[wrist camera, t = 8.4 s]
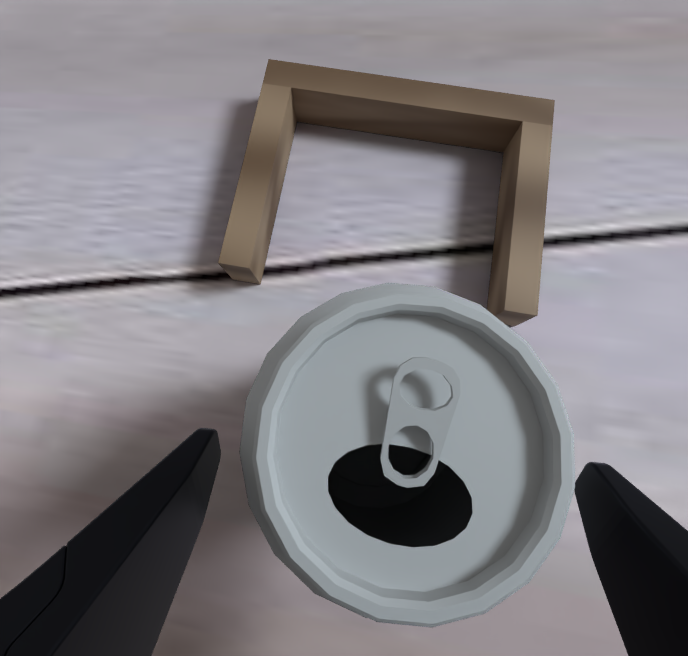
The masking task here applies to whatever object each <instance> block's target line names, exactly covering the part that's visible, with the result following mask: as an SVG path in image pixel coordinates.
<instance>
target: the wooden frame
mask: <svg viewBox="0 0 688 656" xmlns="http://www.w3.org/2000/svg"><path fill="white" fill-rule="evenodd" d="M554 102H555V100H549V99H543V98H536V97H529V96H522V95H515V94H508V93H501V92H494V91H487V90H480V89H473V88H466V87H459V86H452V85H445V84H438V83H431V82H424V81H417V80H410V79H403V78H396V77H389V76H382V75H375V74H368V73H361V72H354V71H347V70H340V69H333V68H326V67H319V66H312V65H305V64H298V63H292V62H285V61H278V60H271V59H269V60H268V64H267V68H266V72H265V76H264V80H263V84H262V88H261V92H260V96H259V100H258V104H257V108H256V112H255V117H254V121H253V125H252V129H251V133H250V137H249V141H248V145H247V149H246V153H245V157H244V161H243V165H242V169H241V173H240V177H239V181H238V185H237V189H236V193H235V197H234V201H233V205H232V209H231V213H230V217H229V221H228V225H227V229H226V233H225V237H224V241H223V245H222V249H221V253H220V257H219V261H218V263H219V264H220V266H221V267H222V268H223V269H224V270H225V271H226V272H227V273H228V275H229V276H230V277H231V278H232V279H233V280H238V281H244V282H250V283H256V284H261V280H262V275H263V271H264V266H265V262H266V258H267V253H268V249H269V244H270V240H271V235H272V231H273V226H274V222H275V217H276V213H277V208H278V204H279V200H280V195H281V191H282V186H283V182H284V177H285V173H286V168H287V164H288V159H289V155H290V150H291V146H292V141H293V137H294V133H295V128H296V124H297V122H302V123H309V124H316V125H323V126H329V127H336V128H343V129H349V130H356V131H363V132H369V133H376V134H383V135H389V136H396V137H403V138H410V139H416V140H423V141H430V142H436V143H443V144H450V145H456V146H463V147H470V148H477V149H483V150H490V151H497V152H503V161H502V171H501V180H500V190H499V199H498V209H497V218H496V227H495V237H494V246H493V256H492V265H491V275H490V284H489V293H488V303H487V310H488V311H489V312H490V313H491V314H493V315H494V316H495V317H496V318H498V319H499V320H500V321H502V322H503V323H504V324H505V325H509V326H516V325H518V324H520V323H523V322H525V321H527V320H529V319H531V318H533V317H535V316H537V314H538V301H539V289H540V276H541V264H542V251H543V239H544V227H545V214H546V202H547V189H548V177H549V164H550V152H551V139H552V127H553V114H554Z"/></svg>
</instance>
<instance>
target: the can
mask: <svg viewBox="0 0 688 656" xmlns="http://www.w3.org/2000/svg"><path fill="white" fill-rule="evenodd" d="M239 452H240V458H241V463H242V469H243V475H244V481H245V486H246V492H247V498H248V503H249V506H250V508H251V510H252V512H253V514H254V516H255V518H256V520H257V522H258V524H259V526H260V527H261V529H262V531H263V533H264V535H265V537H266V539H267V541H268V543H269V545H270V547H271V549H272V551H273V552H274V554H275V555H276V556H277V557H278V558H279V559H280V560H281V561H282V562H283V563H284V564H285V565H286V566H287V567H288V568H289V569H290V570H291V571H292V572H293V573H294V574H295V575H296V576H297V577H298V578H299V579H300V580H301V581H302V582H303V583H304V584H305V585H306V586H307V587H309V588H310V589H311V590H312V591H313V592H314V593H315V594H317V595H319V596H321V597H323V598H325V599H327V600H329V601H332V602H334V603H336V604H338V605H340V606H342V607H344V608H346V609H348V610H351V611H353V612H355V613H357V614H359V615H361V616H363V617H365V618H370V619H372V620H374V621H376V622H382V623H392V624H402V625H412V626H422V627H436V626H439V625H443V624H447V623H451V622H455V621H459V620H462V619H466V618H470V617H474V616H478V615H481V614H485V613H486V612H488V611H489V610H491V609H492V608H493V607H495V606H496V605H498V604H499V603H501V602H502V601H503V600H505V599H506V598H508V597H509V596H510V595H512V594H513V593H515V592H516V591H518V590H519V589H520V588H522V587H523V586H525V585H526V584H528V583H529V582H530V580H531V579H532V578H533V576H534V575H535V573H536V572H537V570H538V569H539V568H540V566H541V565H542V563H543V562H544V560H545V559H546V558H547V556H548V555H549V553H550V552H551V550H552V549H553V548H554V546H555V545H556V543H557V542H558V541H559V539H560V537H561V533H562V530H563V526H564V523H565V520H566V516H567V513H568V509H569V506H570V502H571V499H572V496H573V492H574V489H575V465H574V433H573V430H572V427H571V424H570V421H569V418H568V415H567V412H566V409H565V406H564V403H563V400H562V397H561V394H560V391H559V389H558V386H557V383H556V382H555V380H554V379H553V378H552V376H551V375H550V373H549V372H548V371H547V369H546V368H545V366H544V365H543V363H542V362H541V361H540V359H539V358H538V356H537V355H536V354H535V352H534V351H533V349H532V348H531V346H530V345H529V344H528V342H526V341H525V340H524V339H523V338H521V337H520V336H519V335H518V334H517V333H515V332H514V331H513V330H512V329H510V328H509V327H508V326H507V325H505V324H504V323H503V322H502V321H500V320H499V319H498V318H496V317H495V316H494V315H493V314H491V313H490V312H489V311H488V310H486V309H485V308H484V307H483V306H481V305H480V304H477V303H475V302H472V301H470V300H467V299H465V298H462V297H460V296H457V295H455V294H452V293H450V292H447V291H445V290H442V289H440V288H437V287H433V286H420V285H408V284H395V283H385V284H380V285H376V286H372V287H367V288H363V289H358V290H354V291H350V292H345V293H341V294H339V295H338V296H336V297H334V298H333V299H331V300H329V301H327V302H326V303H324V304H322V305H321V306H319V307H317V308H315V309H314V310H312V311H310V312H309V313H307V314H305V315H303V316H302V317H300V318H299V319H298V320H297V322H296V323H295V324H294V325H293V326H292V327H291V328H290V329H289V330H288V331H287V333H286V334H285V335H284V336H283V337H282V338H281V339H280V340H279V341H278V342H277V344H276V345H275V346H274V347H273V348H272V349H271V350H270V351H269V352H268V353H267V356H266V358H265V360H264V362H263V364H262V366H261V369H260V371H259V373H258V375H257V377H256V379H255V382H254V384H253V386H252V388H251V390H250V392H249V395H248V397H247V399H246V405H245V413H244V420H243V428H242V436H241V443H240V451H239Z"/></svg>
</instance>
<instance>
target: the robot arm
mask: <svg viewBox="0 0 688 656" xmlns="http://www.w3.org/2000/svg"><path fill="white" fill-rule="evenodd" d="M220 456H221V450H220V445H219V439H218V433H217V431H216V430H215V429H208V428H200V429H198V430H196V431H195V432H194V433H193V434H192V435H190V436H189V437H188V438H187V439H186V440H185V441H184V442H182V443H181V444H180V445H179V446H178V447H177V448H176V449H174V450H173V451H172V452H171V453H170V454H169V455H168V456H166V457H165V458H164V459H163V460H162V461H161V462H159V463H158V464H157V465H156V466H155V467H154V468H153V469H151V470H150V471H149V472H148V473H147V474H146V475H145V476H143V477H142V478H141V479H140V480H139V481H138V482H137V483H135V484H134V485H133V486H132V487H131V488H130V489H129V490H127V491H126V492H125V493H124V494H123V495H122V496H120V497H119V498H118V499H117V500H116V501H115V502H114V503H112V504H111V505H110V506H109V507H108V508H107V509H106V510H104V511H103V512H102V513H101V514H100V515H99V516H98V517H96V518H95V519H94V520H93V521H92V522H91V523H90V524H88V525H87V526H86V527H85V528H84V529H83V530H81V531H80V532H79V533H78V534H77V535H76V536H75V537H73V538H72V539H71V540H70V541H69V542H68V543H67V546H63V547H62V548H61V549H60V550H58V551H57V552H56V553H55V554H54V555H53V556H51V557H50V558H49V559H48V560H47V561H46V562H45V563H43V564H42V565H41V566H40V567H39V568H37V569H36V570H35V571H34V572H33V573H31V574H30V575H29V576H28V577H27V578H25V579H24V580H23V581H22V582H21V583H20V584H18V585H17V586H16V587H15V588H13V589H12V590H11V591H9V592H8V593H7V594H6V595H4V596H3V597H2V598H1V599H0V656H151V655H152V652H153V650H154V647H155V645H156V642H157V640H158V637H159V634H160V632H161V629H162V627H163V624H164V622H165V619H166V616H167V614H168V611H169V609H170V606H171V604H172V601H173V598H174V596H175V593H176V591H177V588H178V586H179V583H180V580H181V578H182V575H183V573H184V570H185V568H186V565H187V562H188V560H189V557H190V555H191V552H192V550H193V547H194V544H195V542H196V539H197V537H198V534H199V532H200V529H201V526H202V523H203V520H204V517H205V513H206V510H207V506H208V502H209V499H210V495H211V491H212V488H213V484H214V480H215V476H216V473H217V469H218V465H219V462H220ZM574 490H575V495H576V499H577V503H578V507H579V511H580V514H581V518H582V522H583V526H584V530H585V533H586V537H587V541H588V545H589V548H590V552H591V555H592V558H593V561H594V564H595V567H596V570H597V572H598V575H599V578H600V581H601V583H602V586H603V589H604V591H605V594H606V597H607V599H608V602H609V605H610V607H611V610H612V613H613V615H614V618H615V621H616V624H617V626H618V629H619V632H620V634H621V637H622V640H623V642H624V645H625V648H626V650H627V653H628V656H688V531H687V530H686V529H685V528H684V527H682V526H681V525H680V524H679V523H678V522H677V521H675V520H674V519H673V518H672V517H671V516H669V515H668V514H667V513H666V512H665V511H663V510H662V509H661V508H660V507H659V506H658V505H656V504H655V503H654V502H653V501H652V500H650V499H649V498H648V497H647V496H646V495H644V494H643V493H642V492H641V491H640V490H639V489H637V488H636V487H635V486H634V485H633V484H631V483H630V482H629V481H628V480H627V479H625V478H624V477H623V476H622V475H621V474H620V473H618V472H617V471H616V470H615V469H614V468H612V467H611V466H610V465H608V464H605V463H597V462H589V463H587V464H586V465H585V467H584V469H583V470H582V472H581V474H580V475H579V477H578V479H577V480H576V482H575V489H574Z"/></svg>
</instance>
